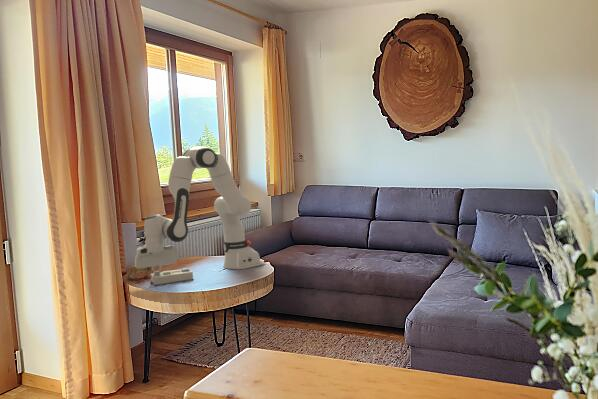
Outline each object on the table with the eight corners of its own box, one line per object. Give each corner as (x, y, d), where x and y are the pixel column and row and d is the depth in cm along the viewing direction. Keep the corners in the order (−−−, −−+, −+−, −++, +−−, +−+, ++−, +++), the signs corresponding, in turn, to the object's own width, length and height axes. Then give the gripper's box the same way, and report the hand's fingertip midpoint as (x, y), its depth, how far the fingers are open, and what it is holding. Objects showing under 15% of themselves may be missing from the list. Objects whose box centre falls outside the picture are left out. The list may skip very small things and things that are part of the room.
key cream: (160, 279, 258) (160, 273, 257) (161, 280, 255) (161, 275, 254) (154, 280, 256) (153, 274, 256) (155, 281, 253) (154, 276, 253)
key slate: (187, 273, 263) (187, 267, 263) (189, 274, 260) (188, 268, 260) (181, 274, 262) (181, 268, 262) (183, 275, 259) (182, 269, 259)
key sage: (169, 276, 259) (169, 270, 259) (171, 277, 257) (170, 271, 256) (163, 277, 258) (162, 271, 258) (164, 278, 255) (164, 272, 255)
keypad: (188, 275, 268) (187, 267, 267) (193, 280, 257) (192, 272, 256) (151, 280, 260) (150, 273, 260) (154, 286, 249) (154, 278, 249)
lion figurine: (153, 273, 276) (152, 257, 275) (156, 275, 271) (155, 258, 270) (125, 278, 269) (124, 261, 268) (127, 280, 264) (126, 263, 263)
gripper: (174, 244, 261) (177, 270, 262) (133, 249, 253) (135, 276, 254) (177, 245, 255) (179, 273, 256) (134, 251, 247) (137, 279, 248)
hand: (157, 274), depth 255 cm, fingers closed
